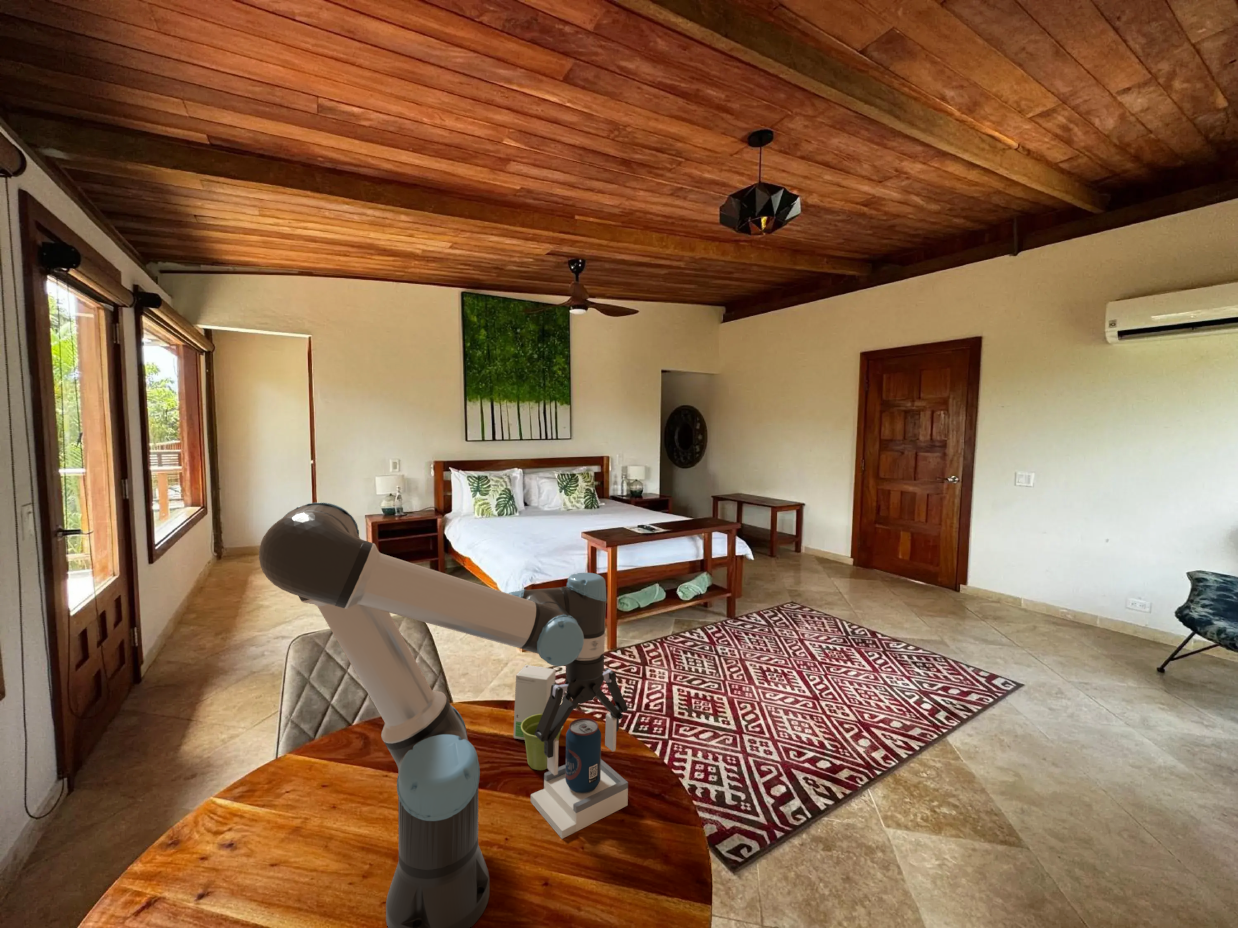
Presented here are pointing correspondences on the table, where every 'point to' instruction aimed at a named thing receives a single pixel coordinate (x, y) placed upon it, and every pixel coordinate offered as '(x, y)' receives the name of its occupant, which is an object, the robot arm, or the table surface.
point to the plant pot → (534, 743)
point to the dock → (579, 800)
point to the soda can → (583, 755)
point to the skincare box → (531, 694)
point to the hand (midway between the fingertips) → (582, 759)
